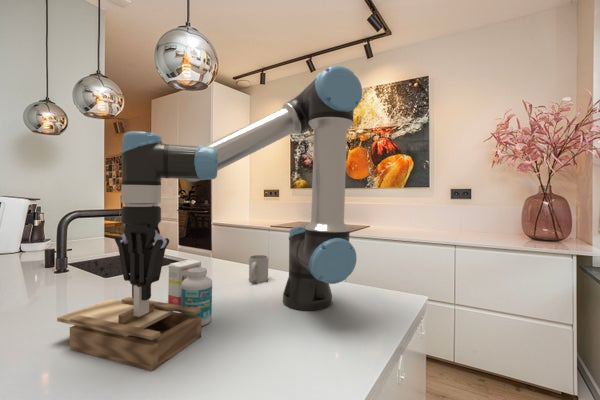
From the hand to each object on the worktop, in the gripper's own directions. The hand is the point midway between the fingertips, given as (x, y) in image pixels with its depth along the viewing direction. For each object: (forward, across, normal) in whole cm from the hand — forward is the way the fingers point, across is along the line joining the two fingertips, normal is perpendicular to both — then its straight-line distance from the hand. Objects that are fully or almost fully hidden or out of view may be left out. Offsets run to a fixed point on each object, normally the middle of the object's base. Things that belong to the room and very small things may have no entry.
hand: (141, 313), depth 64 cm
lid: (+2, +7, 0) cm, 7 cm away
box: (+7, +1, 0) cm, 7 cm away
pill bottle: (+7, -4, -13) cm, 15 cm away
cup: (+7, -2, -50) cm, 51 cm away
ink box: (+7, +9, -24) cm, 27 cm away
